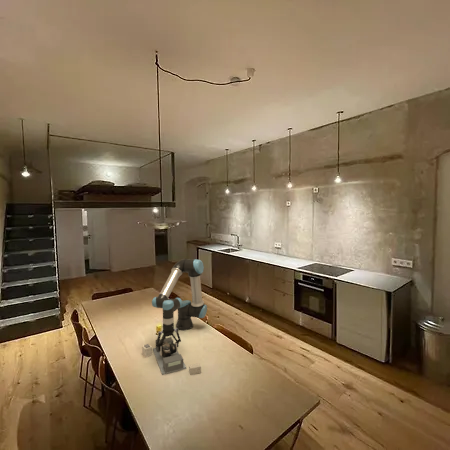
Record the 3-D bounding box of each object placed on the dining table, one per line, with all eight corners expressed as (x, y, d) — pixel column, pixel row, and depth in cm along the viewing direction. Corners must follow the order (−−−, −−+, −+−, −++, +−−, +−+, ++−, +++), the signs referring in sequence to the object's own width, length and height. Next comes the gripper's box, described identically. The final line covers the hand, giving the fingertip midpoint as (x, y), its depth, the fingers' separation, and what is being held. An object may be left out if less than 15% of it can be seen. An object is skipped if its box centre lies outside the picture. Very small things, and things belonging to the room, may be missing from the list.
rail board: (173, 345, 206) (173, 336, 206) (186, 368, 175) (186, 358, 175) (152, 349, 199) (152, 340, 199) (162, 375, 168) (162, 364, 168)
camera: (179, 358, 183) (179, 344, 182) (165, 362, 178) (164, 348, 177) (171, 348, 197) (171, 335, 196) (158, 352, 191) (157, 338, 191)
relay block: (148, 351, 197) (148, 342, 196) (152, 355, 192) (152, 346, 192) (142, 354, 194) (142, 345, 193) (145, 357, 189) (145, 348, 189)
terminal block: (199, 369, 175) (199, 363, 174) (201, 373, 171) (200, 366, 171) (189, 371, 172) (189, 365, 172) (190, 375, 169) (190, 368, 168)
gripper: (182, 318, 194) (182, 347, 196) (150, 323, 185) (151, 354, 186) (185, 322, 188) (185, 352, 189) (152, 328, 178) (153, 359, 179)
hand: (168, 353), depth 187 cm, fingers closed on camera, 10 cm apart
